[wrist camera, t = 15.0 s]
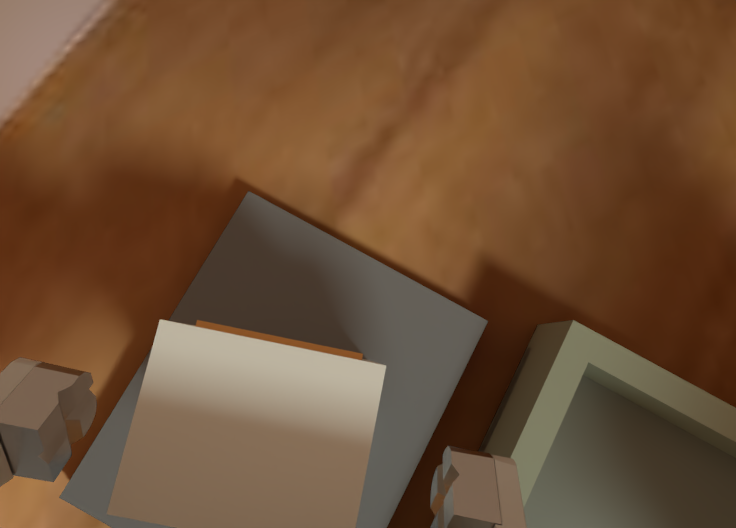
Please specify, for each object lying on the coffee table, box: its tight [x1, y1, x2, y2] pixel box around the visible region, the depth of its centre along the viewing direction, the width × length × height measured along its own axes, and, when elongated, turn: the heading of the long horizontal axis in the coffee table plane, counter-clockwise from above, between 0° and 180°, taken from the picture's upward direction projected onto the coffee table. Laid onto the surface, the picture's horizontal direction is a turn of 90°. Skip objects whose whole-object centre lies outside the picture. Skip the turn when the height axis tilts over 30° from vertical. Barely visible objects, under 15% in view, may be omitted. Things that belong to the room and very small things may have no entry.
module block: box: [107, 319, 386, 528], centre depth 14 cm, size 4×5×7 cm
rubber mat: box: [59, 191, 488, 528], centre depth 18 cm, size 12×10×1 cm
